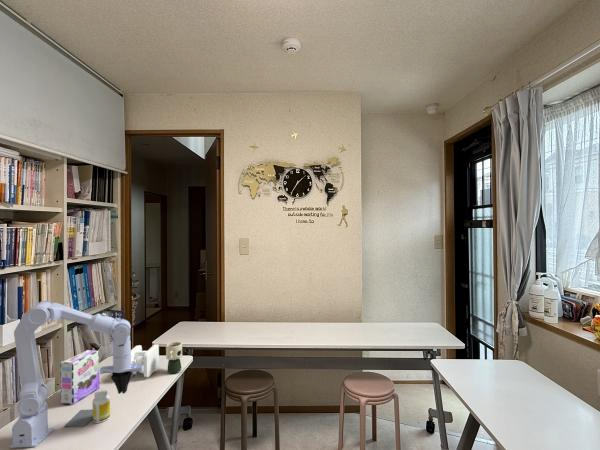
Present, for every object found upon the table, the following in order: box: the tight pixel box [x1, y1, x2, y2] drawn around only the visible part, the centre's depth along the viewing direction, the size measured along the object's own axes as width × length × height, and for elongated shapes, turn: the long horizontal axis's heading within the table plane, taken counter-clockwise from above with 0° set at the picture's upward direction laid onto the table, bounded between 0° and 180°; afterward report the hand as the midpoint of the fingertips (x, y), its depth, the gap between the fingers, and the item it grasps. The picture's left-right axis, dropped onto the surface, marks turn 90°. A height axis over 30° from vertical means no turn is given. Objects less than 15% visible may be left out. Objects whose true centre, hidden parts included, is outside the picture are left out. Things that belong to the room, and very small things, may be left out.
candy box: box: [59, 349, 100, 406], centre depth 141 cm, size 14×6×16 cm, turn 168°
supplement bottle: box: [92, 389, 111, 424], centre depth 124 cm, size 5×5×10 cm
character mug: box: [165, 341, 183, 374], centre depth 163 cm, size 11×7×13 cm, turn 1°
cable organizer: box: [130, 343, 160, 379], centre depth 161 cm, size 15×11×12 cm
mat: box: [64, 408, 93, 428], centre depth 125 cm, size 10×7×1 cm
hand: (122, 392), depth 124 cm, fingers closed
